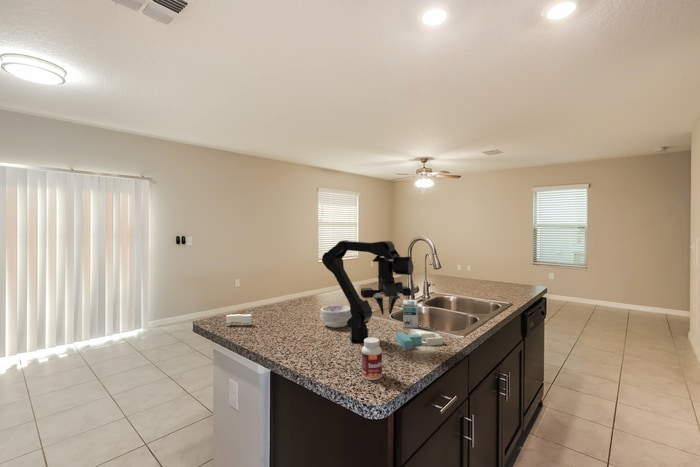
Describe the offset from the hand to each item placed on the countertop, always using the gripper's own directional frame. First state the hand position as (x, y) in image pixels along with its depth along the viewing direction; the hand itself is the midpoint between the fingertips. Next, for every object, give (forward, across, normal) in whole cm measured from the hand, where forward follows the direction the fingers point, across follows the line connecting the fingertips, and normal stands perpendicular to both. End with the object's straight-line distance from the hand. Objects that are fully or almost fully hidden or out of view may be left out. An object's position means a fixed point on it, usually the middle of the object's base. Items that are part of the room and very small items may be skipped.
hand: (386, 314), depth 122 cm
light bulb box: (+12, +18, +24) cm, 33 cm away
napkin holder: (+13, -61, +40) cm, 74 cm away
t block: (+12, +10, 0) cm, 15 cm away
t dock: (+12, +18, 0) cm, 22 cm away
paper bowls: (+12, -16, +31) cm, 37 cm away
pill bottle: (+12, -12, -24) cm, 29 cm away
